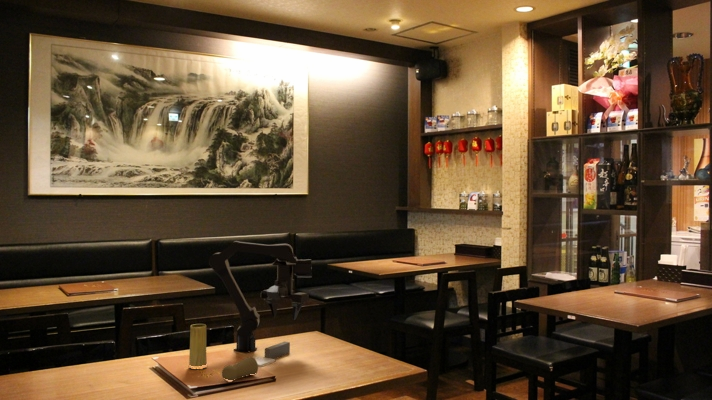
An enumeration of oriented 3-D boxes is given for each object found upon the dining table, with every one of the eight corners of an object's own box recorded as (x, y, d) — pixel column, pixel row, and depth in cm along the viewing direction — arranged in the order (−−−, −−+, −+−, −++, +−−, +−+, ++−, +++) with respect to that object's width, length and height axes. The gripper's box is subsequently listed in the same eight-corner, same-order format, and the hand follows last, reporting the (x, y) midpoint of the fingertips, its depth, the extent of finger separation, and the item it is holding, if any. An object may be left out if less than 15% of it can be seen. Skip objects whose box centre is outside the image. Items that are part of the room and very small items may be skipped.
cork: (254, 378, 193) (228, 389, 184) (243, 367, 196) (216, 376, 188) (260, 364, 191) (234, 373, 183) (248, 352, 194) (222, 361, 186)
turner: (244, 364, 207) (245, 352, 207) (279, 351, 224) (279, 340, 224) (260, 367, 203) (261, 355, 203) (294, 353, 221) (294, 343, 221)
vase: (184, 368, 200) (185, 326, 200) (196, 364, 205) (196, 322, 205) (199, 371, 197) (200, 328, 197) (210, 366, 203) (211, 324, 203)
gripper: (251, 277, 223) (251, 319, 223) (292, 281, 214) (291, 325, 214) (270, 274, 233) (269, 314, 233) (309, 278, 224) (309, 319, 224)
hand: (284, 318), depth 226 cm, fingers open, 9 cm apart
